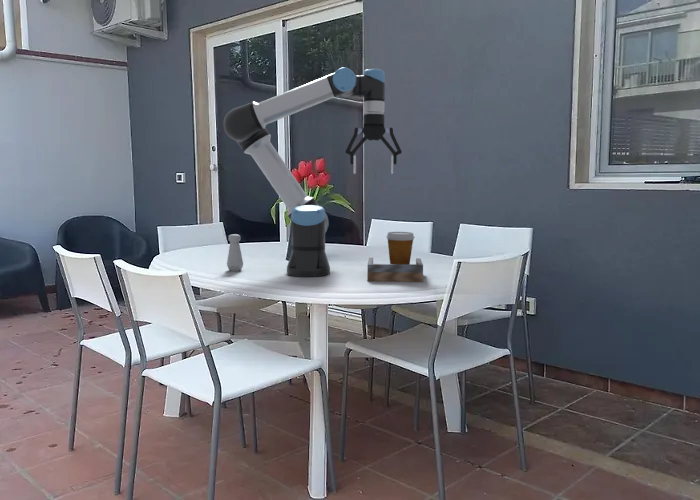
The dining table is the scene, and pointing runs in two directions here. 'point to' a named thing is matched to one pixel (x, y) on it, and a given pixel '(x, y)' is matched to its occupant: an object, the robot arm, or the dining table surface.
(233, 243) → the salt shaker
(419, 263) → the dock
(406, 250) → the disposable coffee cup
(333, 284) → the dining table surface
